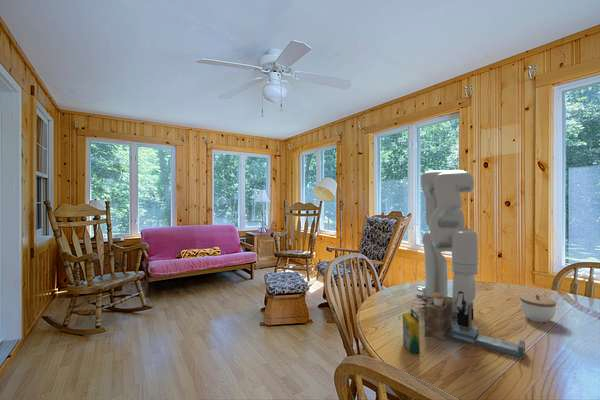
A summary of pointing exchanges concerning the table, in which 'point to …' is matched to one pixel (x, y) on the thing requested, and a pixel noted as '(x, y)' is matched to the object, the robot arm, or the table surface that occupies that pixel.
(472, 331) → the carriage
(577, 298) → the table surface
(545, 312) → the lidded jar
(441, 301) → the orange and grey cylinder
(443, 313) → the end cabinet
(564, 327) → the table surface
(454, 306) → the nautilus
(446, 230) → the robot arm
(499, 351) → the rail
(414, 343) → the crayon box
